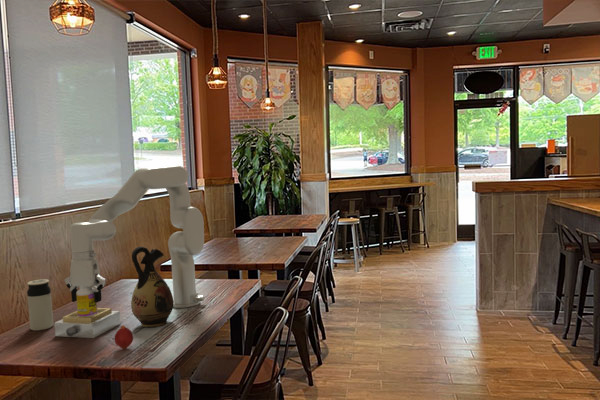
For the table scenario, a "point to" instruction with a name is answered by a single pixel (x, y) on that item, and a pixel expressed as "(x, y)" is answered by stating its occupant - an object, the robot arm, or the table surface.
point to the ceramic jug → (150, 291)
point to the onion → (123, 337)
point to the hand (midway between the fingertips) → (86, 301)
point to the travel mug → (40, 305)
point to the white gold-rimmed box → (87, 324)
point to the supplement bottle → (86, 302)
